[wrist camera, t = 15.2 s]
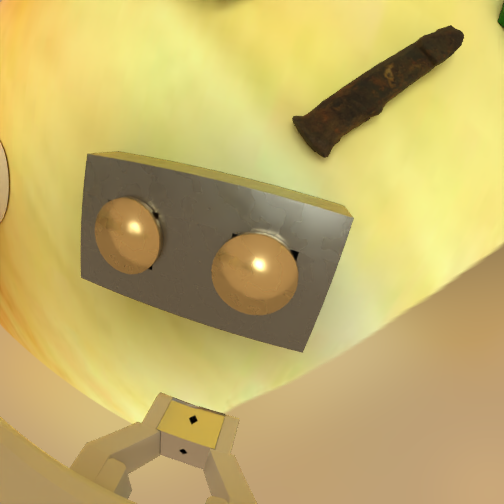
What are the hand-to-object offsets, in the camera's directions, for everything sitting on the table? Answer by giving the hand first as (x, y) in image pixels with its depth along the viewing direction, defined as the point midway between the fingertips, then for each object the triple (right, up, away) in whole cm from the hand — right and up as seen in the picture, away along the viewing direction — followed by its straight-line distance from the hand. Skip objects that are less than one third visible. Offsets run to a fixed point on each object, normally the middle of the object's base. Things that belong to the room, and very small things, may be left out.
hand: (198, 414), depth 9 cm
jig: (-2, +7, +18) cm, 20 cm away
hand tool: (+13, +21, +11) cm, 27 cm away
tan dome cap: (+3, +6, +16) cm, 18 cm away
